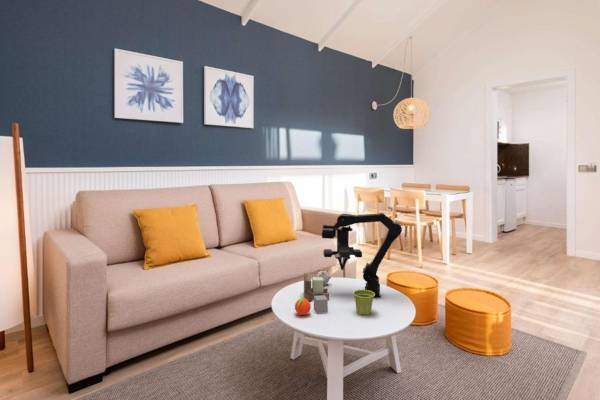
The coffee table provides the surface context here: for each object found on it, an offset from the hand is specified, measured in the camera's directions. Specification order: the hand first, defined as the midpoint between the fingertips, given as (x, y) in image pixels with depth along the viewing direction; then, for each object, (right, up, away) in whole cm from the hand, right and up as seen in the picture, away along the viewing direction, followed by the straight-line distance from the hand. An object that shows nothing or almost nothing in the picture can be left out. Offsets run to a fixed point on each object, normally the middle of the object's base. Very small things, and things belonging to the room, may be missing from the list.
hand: (342, 270), depth 181 cm
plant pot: (+7, -15, -22) cm, 27 cm away
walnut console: (-13, -12, -4) cm, 19 cm away
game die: (-9, -11, +14) cm, 20 cm away
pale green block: (-12, -12, -4) cm, 18 cm away
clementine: (-20, -15, -25) cm, 35 cm away
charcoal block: (-12, -14, -21) cm, 28 cm away
